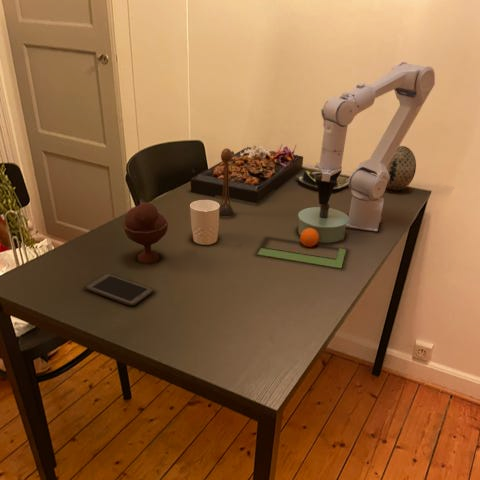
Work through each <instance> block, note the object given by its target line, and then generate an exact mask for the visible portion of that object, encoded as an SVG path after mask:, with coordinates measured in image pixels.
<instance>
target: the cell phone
mask: <svg viewBox="0 0 480 480" xmlns="http://www.w3.org/2000/svg"><path fill="white" fill-rule="evenodd" d="M85 288H86V290H87V291H89V292H91V293H94V294H97V295H99V296H103V297H105V298H108V299H109V300H112V301H116V302H118V303H121V304H124V305H127V306H129V307H134V306H136V305H137V304H139V303H140V302H141V301H143V300H145V299H146V298H148V297H149V296H150V295H152V294H153V289H152V288H150V287H147V286H145V285H142V284H139V283H136V282H133V281H131V280H128V279H124V278H122V277H119V276H117V275H113V274H110V273H106V274H104V275H102V276H100V277H99V278H98V279H96V280H94V281H92V282H90V283H89V284H87V285H86V287H85Z"/></svg>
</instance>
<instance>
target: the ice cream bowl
mask: <svg viewBox="0 0 480 480" xmlns="http://www.w3.org/2000/svg"><path fill="white" fill-rule="evenodd" d="M122 226H123V229H124V232H125V235H126V237H127V238H128V239H129V240H131V241H132V242H134V243H136V244H138V245H140V246H143V249H144V251H142V252H141V253H139V254H138V255H137V260H138V262H141V263H143V264H152V263H155V262H157V261H158V260H159V259H160V255H159V253H158V252H155V251H153V250H152V245H155V244H156V243H158V242H160V240H161V239H162V238H163V237H164V236H165V235H166V233H167V231H168V228H169V223H168V220H167V218H165V216H164V215H163V214H161V213H159V211H158V208H157V207H156V206H155V205H154V204H153V203H151V202H145V201H143V202H141V203H139V204H138V205H137V206H133V207H132V208H130V209H129V210H128V211H126V213H125V216H124V221H122Z"/></svg>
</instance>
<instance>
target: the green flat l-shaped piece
mask: <svg viewBox="0 0 480 480" xmlns="http://www.w3.org/2000/svg"><path fill="white" fill-rule="evenodd" d="M346 252H347V249H346V248H339V247H338V250H337V254H336V257H335V258H332V257H325V256H320V255H314V254H307V253H300V252H294V251H288V250H282V249H277V248H276V249H275V248H269V247H263V246H262V247H260V249H259V250H258V252H257V254H256V256H261V257H266V258H272V259H278V260H284V261H291V262H296V263H302V264H308V265H314V266H315V265H316V266H321V267H326V268H332V269H333V268H334V269H340V270H341V269H342V268H343V263H344V260H345V256H346Z"/></svg>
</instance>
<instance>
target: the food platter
mask: <svg viewBox="0 0 480 480" xmlns="http://www.w3.org/2000/svg"><path fill="white" fill-rule="evenodd" d="M252 146H253V147H250V146H246V147H244V148H243V149H241V150H239V151H238V152H236V153H234V155H232V157H231V160H230V161H229V162H228V165H229V199H231V200H236V201H243V202H246V203H252V204H259V203H260V202H261V201H262V200H263V199H265V198H266V197H267V196H268V195H270V194H271V193H272V192H274V191H276V190H277V189H279V188H280V187H281V186H282V185H283V184H285V183H286V182H287V181H289V180H290V179H291V178H292V177H293V176H294V175H296V174H297V173H298V172H299V171H300V170H301V169H303V165H304V156H303V155H298V154H295V150H296V148H297V146H298V145H297V144H295V146H294V148H293V150H292V151H291V149H290V147H289V146H287V145H286V146H284V147H282V146H283V143H281V144H280V145H279V148H278V149H277V151H274V150H270V149H266V148H264V146H263V145H260V146H259V145H255V144H254V145H252ZM282 148H283V149H282ZM224 165H225V162H223V161H222V160H221V161H220V162H218V163H216V164H214V165H213V166H211V167H209V168H207V169H206V170H204V171H202V172H201V173H198V174H196V175H195V176H193V177H192V178H190V192H192V193H195V194H200V195H206V196H211V197H216V196H217V197H222V195H223V175H224ZM223 198H225V184H224V197H223ZM227 199H228V190H227Z"/></svg>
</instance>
